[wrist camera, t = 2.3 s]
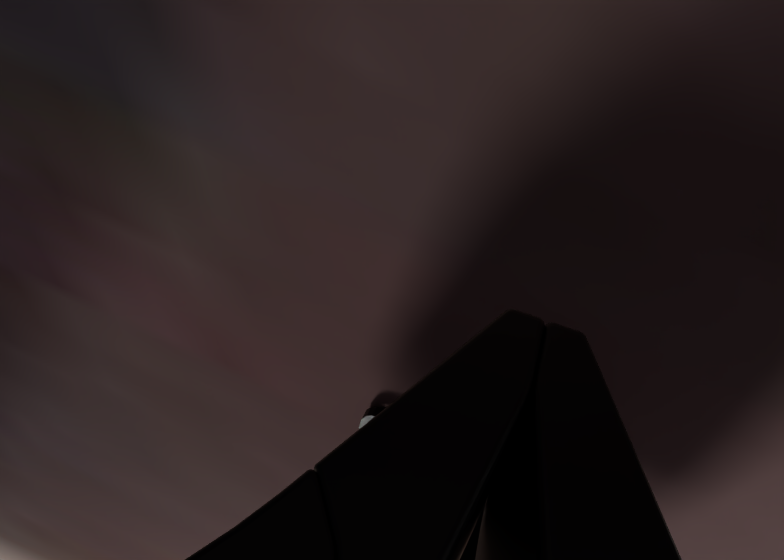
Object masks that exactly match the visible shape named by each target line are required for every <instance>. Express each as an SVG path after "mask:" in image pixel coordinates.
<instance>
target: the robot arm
mask: <svg viewBox="0 0 784 560" xmlns="http://www.w3.org/2000/svg"><path fill="white" fill-rule="evenodd" d="M185 560H681V557H680V555H679V553H678V550H677V548H676V546H675V543H674V541H673V539H672V536H671V534H670V532H669V529H668V527H667V525H666V522H665V520H664V518H663V515H662V513H661V511H660V508H659V506H658V504H657V501H656V499H655V497H654V494H653V492H652V490H651V487H650V485H649V483H648V480H647V478H646V476H645V473H644V471H643V469H642V466H641V464H640V462H639V459H638V457H637V455H636V452H635V450H634V448H633V445H632V443H631V441H630V438H629V436H628V434H627V431H626V429H625V427H624V424H623V422H622V420H621V417H620V415H619V413H618V410H617V408H616V406H615V403H614V401H613V399H612V396H611V394H610V392H609V390H608V387H607V385H606V383H605V380H604V378H603V376H602V373H601V371H600V369H599V366H598V364H597V362H596V359H595V357H594V355H593V352H592V350H591V348H590V345H589V343H588V341H587V338H586V336H585V335H584V334H583V333H581V332H579V331H576V330H573V329H571V328H568V327H565V326H562V325H559V324H556V323H552V322H551V323H548V324H547V325H544V321H543V320H542V319H540V318H538V317H535V316H532V315H529V314H526V313H523V312H521V311H518V310H514V309H509V310H507V311H505V312H504V313H503V314H501V315H500V316H499V317H498V318H497V319H495V320H494V321H493V322H492V323H490V324H489V325H488V326H487V327H485V328H484V329H483V330H482V331H480V332H479V333H478V334H477V335H475V336H474V337H473V338H472V339H471V340H469V341H468V342H467V343H466V344H464V345H463V346H462V347H461V348H459V349H458V350H457V351H456V352H454V353H453V354H452V355H451V356H449V357H448V358H447V359H446V360H444V361H443V362H442V363H441V364H440V365H438V366H437V367H436V368H435V369H433V370H432V371H431V372H430V373H428V374H427V375H426V376H425V377H423V378H422V379H421V380H420V381H418V382H417V383H416V384H415V385H414V386H412V387H411V388H410V389H409V390H407V391H406V392H405V393H404V394H402V395H401V396H400V397H399V398H397V399H396V400H395V401H394V402H392V403H391V404H390V405H389V406H387V407H386V408H385V409H383V408H379V407H371V408H369V409H367V410H366V412H365V414H364V416H363V418H362V420H361V423H360V427H359V430H358V431H357V432H355V433H354V434H353V435H352V436H350V437H349V438H348V439H347V440H345V441H344V442H343V443H342V444H340V445H339V446H338V447H337V448H335V449H334V450H333V451H332V452H331V453H329V454H328V455H327V456H326V457H324V458H323V459H322V460H321V461H319V462H318V463H317V464H316V465H315V467H314V470H312V469H310V470H308V471H306V472H305V473H304V474H303V475H301V476H300V477H299V478H298V479H296V480H295V481H294V482H293V483H292V484H290V485H289V486H288V487H287V488H285V489H284V490H283V491H282V492H280V493H279V494H278V495H276V496H275V497H274V498H272V499H271V500H270V501H268V502H267V503H266V504H264V505H263V506H262V507H260V508H259V509H258V510H256V511H255V512H254V513H252V514H251V515H250V516H248V517H247V518H246V519H244V520H243V521H242V522H240V523H239V524H238V525H236V526H235V527H234V528H232V529H231V530H229V531H228V532H226V533H225V534H223V535H222V536H220V537H219V538H217V539H216V540H214V541H212V542H211V543H209V544H208V545H206V546H205V547H203V548H202V549H200V550H199V551H197V552H196V553H194V554H193V555H191V556H190V557H188V558H187V559H185Z"/></svg>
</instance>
